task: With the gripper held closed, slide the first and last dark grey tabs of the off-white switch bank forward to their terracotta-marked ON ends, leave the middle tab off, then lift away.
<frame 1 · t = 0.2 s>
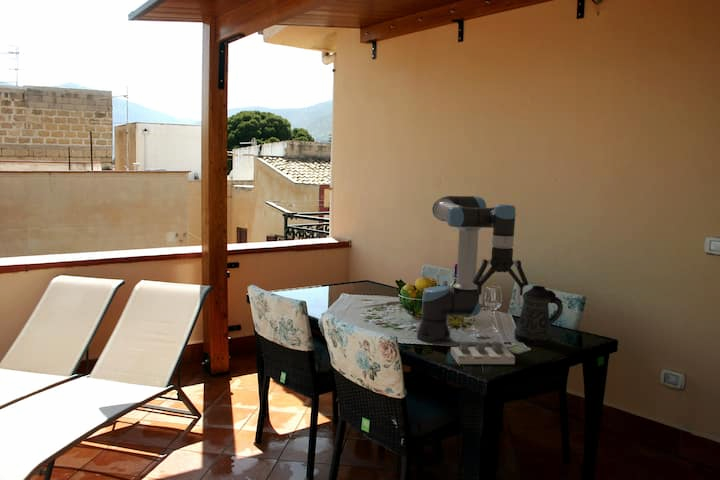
hand: (499, 303, 220), 28 cm above the table, tool pointing down, fingers open, 13 cm apart
switch tab 2: (480, 346, 245), point 4 cm above the table, slide at 0.0 cm
handheld gaming console: (509, 349, 259), on the table
beer stein: (535, 340, 273), on the table
switch bank: (481, 358, 243), on the table
switch tab 3: (497, 347, 246), point 4 cm above the table, slide at 0.0 cm
switch tab 1: (464, 346, 244), point 4 cm above the table, slide at 0.0 cm
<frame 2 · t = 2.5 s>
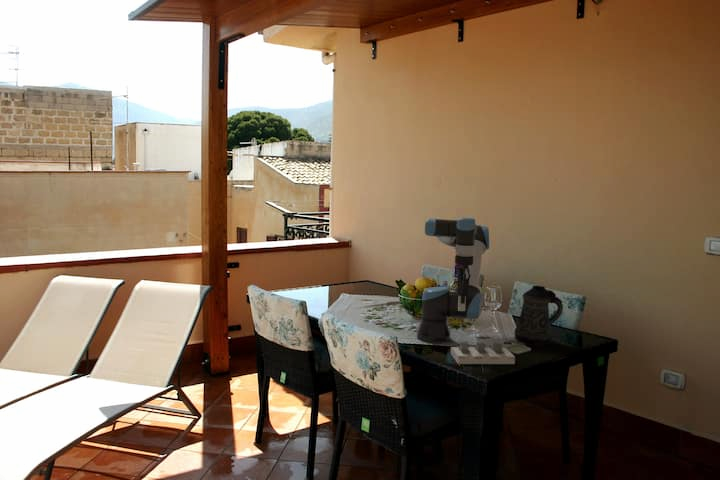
hand: (461, 310, 249), 18 cm above the table, tool pointing down, fingers closed
nothing on the table moved.
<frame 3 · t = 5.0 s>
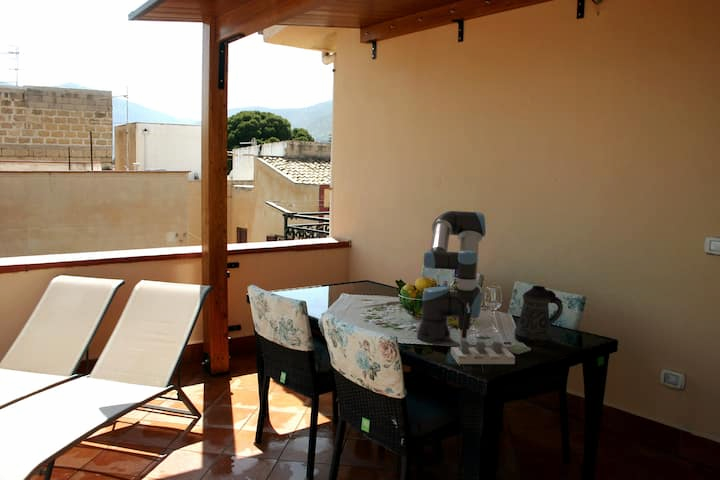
hand: (462, 344, 246), 5 cm above the table, tool pointing down, fingers closed
switch tab 1: (464, 347, 244), point 4 cm above the table, slide at 0.6 cm, touching gripper
everything else where it was.
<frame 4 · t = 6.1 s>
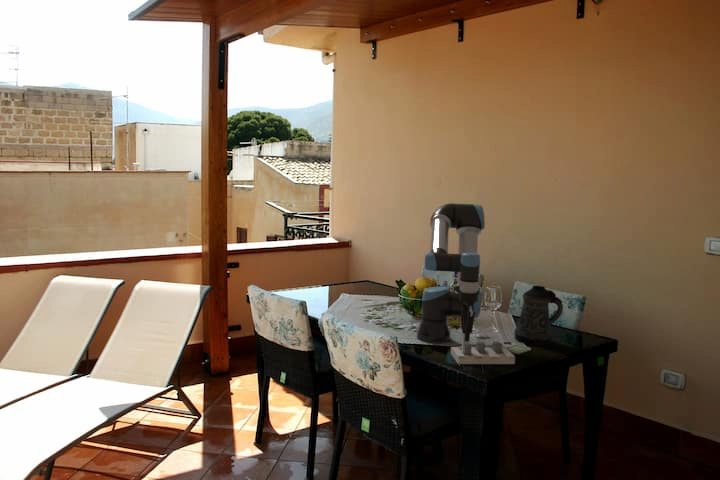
hand: (465, 348, 242), 4 cm above the table, tool pointing down, fingers closed
switch tab 1: (466, 350, 240), point 4 cm above the table, slide at 4.6 cm, touching gripper
everything else where it was.
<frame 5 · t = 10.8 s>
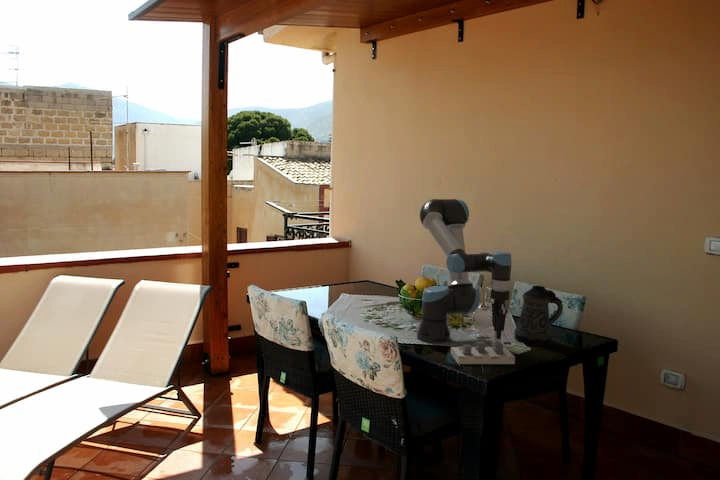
hand: (497, 345, 246), 5 cm above the table, tool pointing down, fingers closed
switch tab 3: (498, 348, 244), point 4 cm above the table, slide at 1.5 cm, touching gripper
switch tab 1: (466, 350, 240), point 4 cm above the table, slide at 4.6 cm
everything else where it was.
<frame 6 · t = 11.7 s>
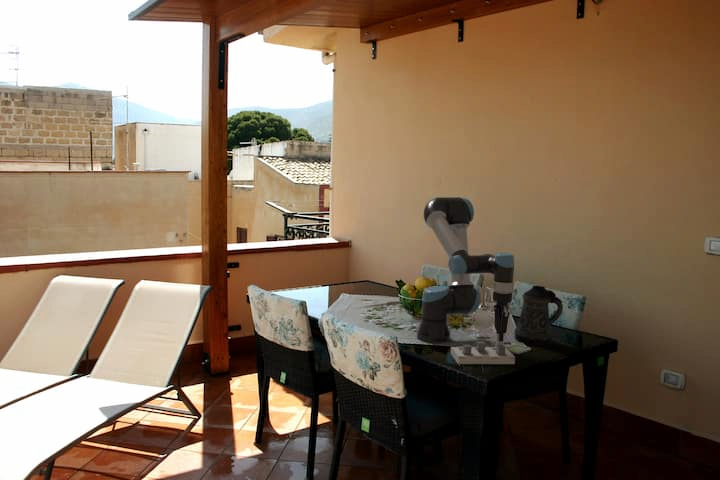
hand: (499, 348, 243), 4 cm above the table, tool pointing down, fingers closed
switch tab 3: (500, 350, 241), point 4 cm above the table, slide at 4.6 cm, touching gripper
everything else where it was.
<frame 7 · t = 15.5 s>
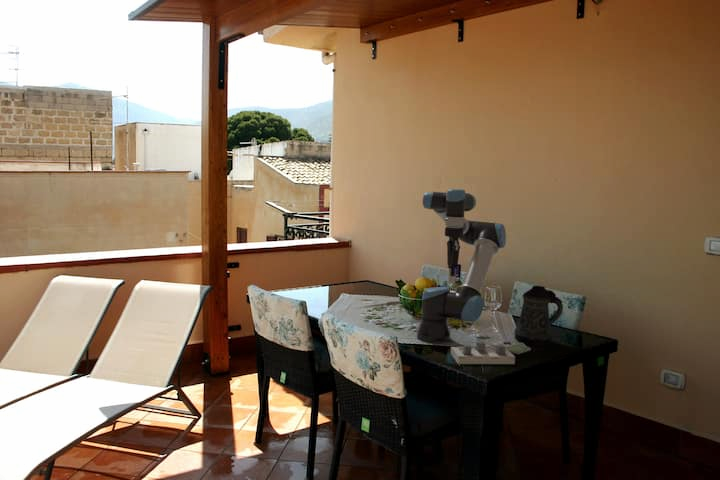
hand: (451, 283, 247), 29 cm above the table, tool pointing down, fingers closed
switch tab 3: (500, 350, 241), point 4 cm above the table, slide at 4.6 cm
everything else where it was.
at the end: switch tab 1 slide at 4.6 cm; switch tab 3 slide at 4.6 cm; switch tab 2 slide at 0.0 cm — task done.
